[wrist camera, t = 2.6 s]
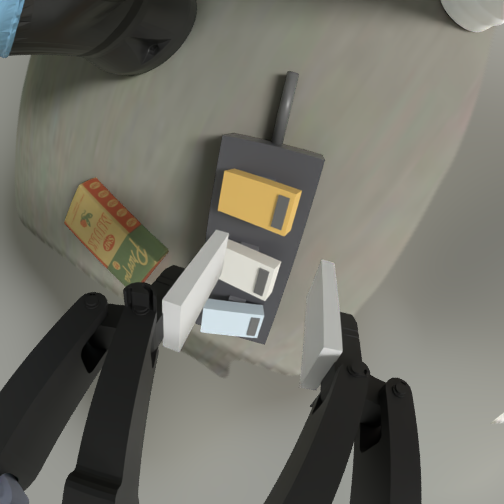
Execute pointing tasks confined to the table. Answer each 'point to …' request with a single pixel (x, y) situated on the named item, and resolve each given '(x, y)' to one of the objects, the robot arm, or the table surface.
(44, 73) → the table surface
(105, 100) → the table surface
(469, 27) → the water bottle
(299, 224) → the power strip
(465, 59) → the table surface
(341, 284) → the table surface
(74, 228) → the carton
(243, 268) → the rocker white
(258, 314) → the rocker blue
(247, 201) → the rocker amber
